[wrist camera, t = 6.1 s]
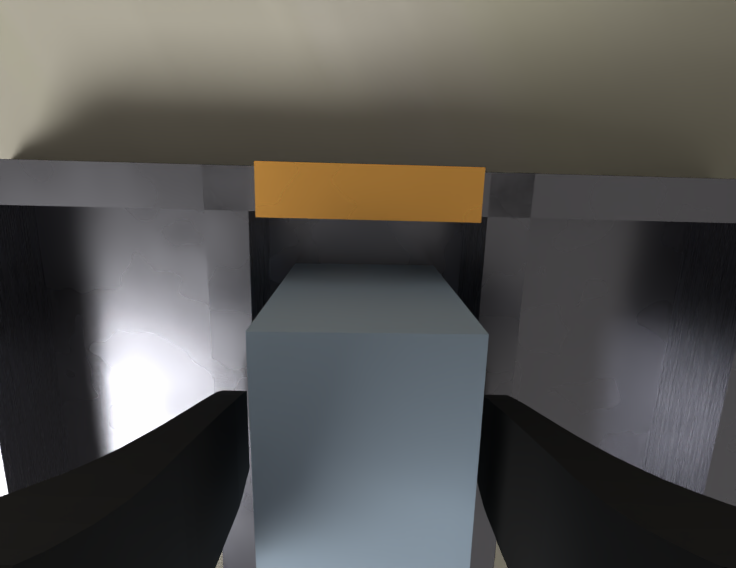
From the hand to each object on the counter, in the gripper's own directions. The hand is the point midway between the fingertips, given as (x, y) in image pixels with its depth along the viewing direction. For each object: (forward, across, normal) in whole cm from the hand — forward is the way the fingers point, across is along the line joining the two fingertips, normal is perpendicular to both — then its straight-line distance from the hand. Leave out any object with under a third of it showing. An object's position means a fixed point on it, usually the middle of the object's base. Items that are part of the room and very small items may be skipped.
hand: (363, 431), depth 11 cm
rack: (+4, 0, 0) cm, 4 cm away
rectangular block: (+3, 0, 0) cm, 3 cm away
